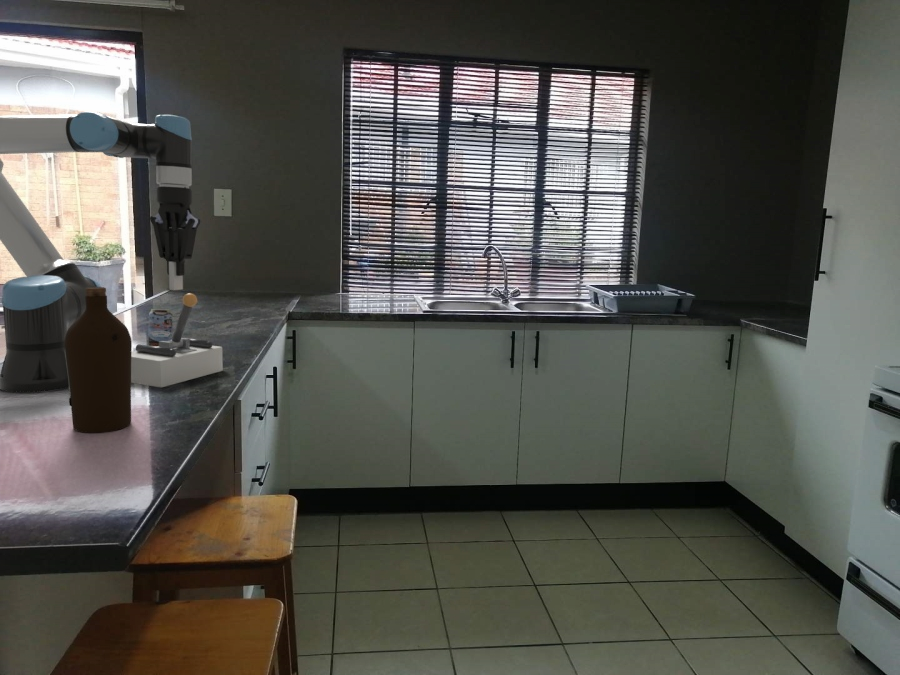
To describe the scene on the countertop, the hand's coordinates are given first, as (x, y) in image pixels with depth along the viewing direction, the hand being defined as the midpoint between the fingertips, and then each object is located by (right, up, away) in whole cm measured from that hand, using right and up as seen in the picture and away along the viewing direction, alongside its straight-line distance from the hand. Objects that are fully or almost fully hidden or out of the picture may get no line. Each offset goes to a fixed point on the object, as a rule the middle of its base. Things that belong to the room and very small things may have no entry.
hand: (176, 289), depth 159 cm
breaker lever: (-2, -13, +3) cm, 13 cm away
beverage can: (-17, -15, +31) cm, 38 cm away
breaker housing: (-2, -20, +4) cm, 21 cm away
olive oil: (+1, -27, -36) cm, 45 cm away
